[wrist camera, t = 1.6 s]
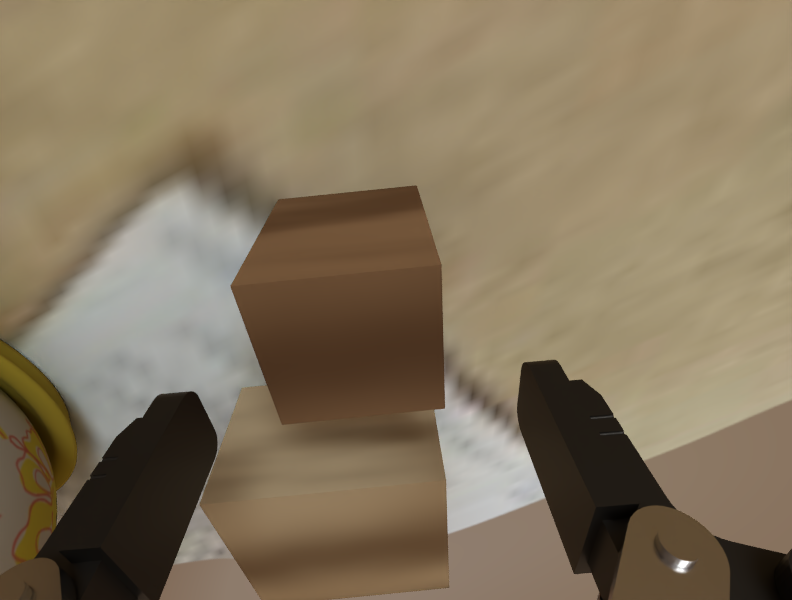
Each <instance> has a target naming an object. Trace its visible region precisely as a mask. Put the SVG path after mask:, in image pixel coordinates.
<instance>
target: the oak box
mask: <svg viewBox="0 0 792 600" xmlns="http://www.w3.org/2000/svg"><path fill="white" fill-rule="evenodd" d="M200 506H201V508H202V509H203V511H204V513H205V514H206V516H207V517H208V519H209V520H210V522H211V523H212V525H213V526H214V528H215V529H216V531H217V532H218V534H219V536H220V537H221V539H222V540H223V542H224V543H225V545H226V546H227V548H228V549H229V551H230V552H231V554H232V556H233V557H234V559H235V560H236V561H237V563H238V565H239V566H240V568H241V569H242V571H243V572H244V574H245V575H246V577H247V579H248V580H249V582H250V583H251V584H252V586H253V588H254V589H255V591H256V592H257V594H258V595H259V597H260V598H261V600H329V599H340V598H350V597H360V596H370V595H380V594H391V593H400V592H411V591H421V590H431V589H441V588H449V566H448V533H447V499H446V478H445V472H444V466H443V460H442V454H441V448H440V442H439V436H438V430H437V425H436V419H435V413H434V410H425V411H415V412H405V413H396V414H386V415H376V416H366V417H356V418H346V419H336V420H326V421H317V422H307V423H297V424H287V425H282V424H281V421H280V419H279V416H278V413H277V410H276V408H275V405H274V402H273V400H272V397H271V394H270V392H269V389H268V386H267V385H265V386H255V387H245V388H242V390H241V392H240V395H239V398H238V401H237V403H236V406H235V409H234V412H233V414H232V417H231V420H230V423H229V425H228V428H227V431H226V433H225V436H224V439H223V442H222V444H221V447H220V450H219V453H218V455H217V458H216V461H215V464H214V466H213V469H212V472H211V475H210V477H209V480H208V483H207V485H206V488H205V491H204V494H203V496H202V499H201V502H200Z"/></svg>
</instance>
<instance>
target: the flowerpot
mask: <svg viewBox="0 0 792 600" xmlns="http://www.w3.org/2000/svg"><path fill="white" fill-rule="evenodd" d="M76 460H77V444H76V439H75V435H74V432H73V430H72V427H71V423H70V418H69V414H68V411H67V408H66V406H65V404H64V402H63V400H62V398H61V396H60V395H59V393H58V392H57V390H56V389H55V388H54V386H53V385H52V384H51V382H50V381H49V380H48V379H47V378H46V377H45V376H44V374H43V373H42V372H40V371H39V370H38V369H37V368H36V367H35V366H34V365H33V364H32V363H31V362H30V361H29V360H28V359H26V358H25V357H24V356H22V355H21V354H20V353H19V352H17V351H16V350H15V349H13V348H12V347H10V346H9V345H8V344H6V343H5V342H3V341H1V340H0V575H1V574H2V573H4V572H6V571H7V570H9V569H10V568H12V567H14V566H16V565H18V564H20V563H22V562H25V561H27V560H31V559H34V558H35V557H36V555H37V554H38V553H39V551H40V550H41V549H42V547H43V546H44V544H45V543H46V541H47V540H48V538H49V537H50V535H51V534H52V532H53V531H54V529H55V528H56V523H57V496H56V491H57V490H58V489H59V488H60V487H62V486H63V485H64V484H65V482H66V481H67V480H68V479H69V477H70V476H71V474H72V472H73V470H74V468H75V465H76Z"/></svg>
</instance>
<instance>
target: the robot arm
mask: <svg viewBox="0 0 792 600" xmlns="http://www.w3.org/2000/svg"><path fill="white" fill-rule="evenodd" d="M517 414H518V421H519V426H520V430H521V433H522V436H523V438H524V441H525V444H526V446H527V449H528V452H529V454H530V457H531V460H532V462H533V465H534V468H535V470H536V473H537V476H538V478H539V481H540V484H541V487H542V489H543V492H544V495H545V497H546V500H547V503H548V505H549V508H550V511H551V513H552V516H553V518H554V521H555V524H556V527H557V529H558V532H559V535H560V538H561V540H562V543H563V546H564V548H565V551H566V553H567V556H568V559H569V562H570V564H571V567H572V570H573V572H574V574H581V573H592V575H593V577H594V580H595V582H596V584H597V587H598V589H599V595H598V598H597V600H792V549H791V550H790V551H789V552H788V554H783V553H779V552H774V551H770V550H766V549H761V548H757V547H753V546H748V545H744V544H739V543H735V542H731V541H728V540H724V539H721V538H719V537H716V536H713V535H712V534H711V533H710V532H709V531H708V530H707V529H706V528H705V527H704V526H703V525H701V524H700V523H699V522H698V521H696V520H695V519H693V518H692V517H690V516H689V515H686V514H685V513H683V512H681V511H678V510H676V508H675V507H674V506H673V505H672V504H671V503H670V501H669V500H668V499H667V497H666V495H665V494H664V492H663V491H662V489H661V488H660V486H659V485H658V483H657V482H656V480H655V478H654V477H653V475H652V474H651V472H650V471H649V469H648V467H647V466H646V464H645V463H644V461H643V460H642V458H641V456H640V455H639V453H638V452H637V450H636V449H635V447H634V446H633V444H632V442H631V441H630V439H629V438H628V436H627V435H625V434H624V430H623V428H622V427H621V425H620V424H619V422H618V421H617V419H616V418H614V416H613V413H612V411H611V410H610V408H609V407H608V405H607V403H606V402H605V400H604V399H603V397H602V396H601V395H600V394H599V393H598V392H597V391H595V390H594V389H593V388H592V387H590V386H589V385H588V384H587V383H585V382H584V381H583V380H572V381H569V379H568V378H567V376H566V374H565V372H564V371H563V369H562V367H561V365H560V364H559V363H558V361H556V360H546V361H535V362H525V363H523V365H522V368H521V376H520V385H519V394H518V403H517ZM216 453H217V435H216V432H215V429H214V427H213V425H212V423H211V421H210V419H209V417H208V415H207V413H206V411H205V409H204V407H203V405H202V403H201V401H200V399H199V397H198V395H197V394H196V393H195V392H192V391H190V392H179V393H168V394H160V395H158V396H157V397H156V398H155V399H154V400H153V402H152V404H151V405H150V407H149V408H148V410H147V411H146V413H145V415H144V416H143V418H136V419H135V420H134V421H133V422H132V423H131V424H130V425H129V426H128V427H127V428H125V429H124V430H123V431H122V432H121V433H120V434H119V435H118V436H117V437H116V438H115V440H114V441H113V442H112V444H111V445H110V447H109V448H108V450H107V451H106V453H105V454H104V456H103V457H102V458H103V460H102V462H99V463H98V465H97V466H96V468H95V469H94V471H93V472H92V474H91V475H90V476H91V479H90V480H87V481H86V483H85V484H84V486H83V487H82V489H81V490H80V492H79V493H78V495H77V496H76V498H75V499H74V501H73V502H72V504H71V505H70V507H69V508H68V510H67V511H66V513H65V514H64V516H63V517H62V519H61V520H60V522H59V523H58V525H57V526H56V528H55V529H54V531H53V532H52V534H51V535H50V537H49V538H48V540H47V541H46V543H45V544H44V546H43V547H42V549H41V550H40V551H39V553H38V554H37V555H36V557H35V558H34V559H31V560H27V561H25V562H22V563H20V564H18V565H16V566H14V567H12V568H10V569H9V570H7V571H6V572H4V573H2V574H1V575H0V600H159V599H160V596H161V594H162V591H163V588H164V586H165V584H166V581H167V579H168V576H169V573H170V571H171V568H172V566H173V563H174V561H175V558H176V556H177V553H178V551H179V548H180V546H181V543H182V541H183V538H184V535H185V533H186V530H187V528H188V525H189V523H190V520H191V518H192V515H193V513H194V510H195V508H196V505H197V503H198V500H199V497H200V495H201V492H202V490H203V487H204V485H205V482H206V480H207V477H208V475H209V472H210V470H211V467H212V465H213V462H214V459H215V457H216Z"/></svg>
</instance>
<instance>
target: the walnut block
mask: <svg viewBox="0 0 792 600" xmlns="http://www.w3.org/2000/svg"><path fill="white" fill-rule="evenodd" d="M231 289H232V292H233V294H234V297H235V300H236V303H237V305H238V308H239V311H240V313H241V316H242V319H243V321H244V324H245V327H246V329H247V332H248V335H249V338H250V340H251V343H252V346H253V348H254V351H255V354H256V356H257V359H258V362H259V365H260V367H261V370H262V373H263V375H264V378H265V381H266V383H267V386H268V389H269V392H270V394H271V397H272V400H273V402H274V405H275V408H276V410H277V413H278V416H279V419H280V421H281V424H282V425H287V424H297V423H307V422H317V421H326V420H336V419H346V418H356V417H366V416H376V415H386V414H396V413H405V412H415V411H425V410H435V409H445V391H444V351H443V311H442V271H441V262H440V259H439V256H438V252H437V249H436V246H435V243H434V240H433V236H432V233H431V230H430V227H429V224H428V220H427V217H426V214H425V211H424V208H423V204H422V201H421V198H420V195H419V192H418V188H417V186H407V187H397V188H387V189H378V190H368V191H358V192H348V193H338V194H328V195H318V196H309V197H299V198H289V199H279V200H278V201H277V203H276V205H275V206H274V208H273V210H272V212H271V214H270V216H269V217H268V219H267V221H266V223H265V225H264V226H263V228H262V230H261V232H260V234H259V235H258V237H257V239H256V241H255V243H254V245H253V246H252V248H251V250H250V252H249V254H248V255H247V257H246V259H245V261H244V263H243V264H242V266H241V268H240V270H239V272H238V274H237V275H236V277H235V279H234V281H233V283H232V284H231Z"/></svg>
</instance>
